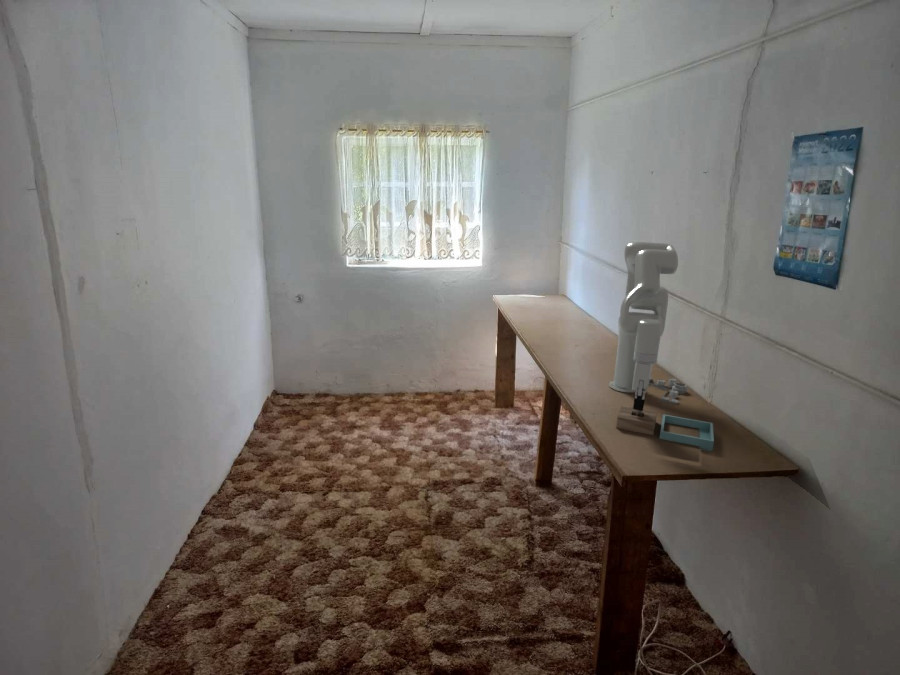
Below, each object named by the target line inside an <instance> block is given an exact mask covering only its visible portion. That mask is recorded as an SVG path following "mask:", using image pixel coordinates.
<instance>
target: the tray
mask: <svg viewBox="0 0 900 675" xmlns="http://www.w3.org/2000/svg"><path fill="white" fill-rule="evenodd" d="M665 423H667V424H672V425H679V426H683V427H689V428H694V429H698V437H697V436H692V435H686V434H682V433H681V434H680V433H675V432H671V431H665V430H664V429H665ZM714 438H715V435H714V423H713V422H710V421H704V420H703V421H702V420H698V419H693V418H686V417H680V416H675V415H671V414H670V415H668V414H662V419H661V426H660V432H659V439H660V440H664V441H670V442H676V443H680V444H684V445H685V444H686V445H691V446H697V447H698V449H699V450H702V451H708V452H713V449H714V444H715V439H714Z"/></svg>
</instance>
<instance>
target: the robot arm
mask: <svg viewBox="0 0 900 675" xmlns="http://www.w3.org/2000/svg"><path fill="white" fill-rule="evenodd" d="M624 261H625V265H626V268H627V277H626V278H627V279H626V288H625V296H624V298H623V300H622V303H621V305H620V309H619V311H620V313H619V314H620V315H619V318H618V322H617V323H618V337H617V338H618V342H617V351H616V358H615V366H614V375H613V380H610V382H609V383H608V386H609V387H610V388H611V389H613V390H615V391H617V392H620V393H634V394H635V392H636V395H635V397H634V400H633V406H632V407H633V409H634V410H640V411H643V409H644V407H645V402H646V397H645V398H644V394H645V395H646V393H645V392H648V388H649V386H650V385H649V383H651V381H650V378H652V370H653V366H654V365H655V364H657V363H658V358H659V357H658V356H659V351H660V342H661V337H662V336H663V334H664V331H665V327H666V321H667V320H666V318H667V312H668V304H669V293H668V290H667V289H666V288H665V287H663V286H661V276H660V275H661V274H662V275H673V274H675V273H676V271H677V269H678V267H679V257H678V253H677V251H676V249H675V248H674V246H673V245H672V244H670V243H661V242H660V243H659V242H649V241H646V242H645V241H634V242H633V241H632V242H629V243H627V244H626V245H625V247H624ZM630 309H634V310H641V311H643V310H644V311H652V312H653V313H649V312H639V311H630ZM642 393H643V394H642Z"/></svg>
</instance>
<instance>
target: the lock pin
mask: <svg viewBox="0 0 900 675" xmlns="http://www.w3.org/2000/svg"><path fill="white" fill-rule="evenodd" d="M634 394H635V395H636V392H634ZM642 394H643V393H642ZM644 398H645V399H646V392H645V394H644ZM642 412H643V411H640V410H633V415H634V416H639V417H642Z"/></svg>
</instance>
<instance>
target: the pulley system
mask: <svg viewBox="0 0 900 675" xmlns="http://www.w3.org/2000/svg"><path fill="white" fill-rule="evenodd" d="M652 382H653V383H652ZM665 384H666V380H664V379H661V378H659V379H657V382H656V381H655V380H654V379H653V378H652V377H651V378H650V382H649V386H651V387H654V388H657V389H660V390H662V391H666V392H665V393H664V394H663V395H662V396H660V397H661V398H660V401H661V402H663V403H666V404H667V403H668V404H672V405H679V403H680V402H679V400H677V398H678V396H680V395H686V394H687V393H688V389H687V387H688V386H687V384H685V383H682V382H677V379H676V378H674V377H669V378H668V382H667V385H665ZM668 393H669V394H668ZM685 393H686V394H685ZM667 394H668V397H667V396H666V395H667ZM679 394H680V395H679Z"/></svg>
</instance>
